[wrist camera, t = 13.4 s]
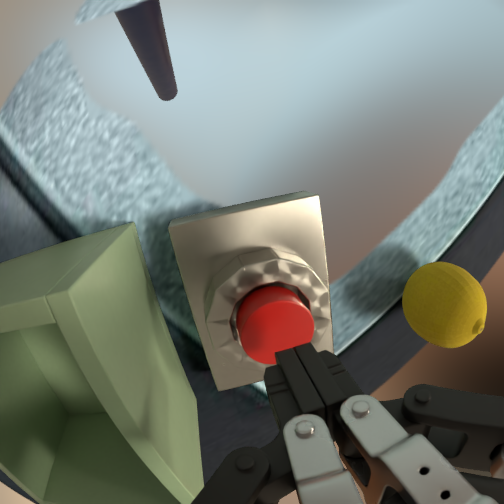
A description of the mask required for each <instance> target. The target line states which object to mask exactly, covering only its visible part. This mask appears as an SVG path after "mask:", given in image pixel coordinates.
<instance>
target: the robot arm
mask: <svg viewBox="0 0 504 504" xmlns="http://www.w3.org/2000/svg"><path fill="white" fill-rule="evenodd" d="M275 360H276V365H274V366H270V367H266V369H265V373H264V377H263V378H264V382H265V386H266V391H267V395H268V399H269V403H270V406H271V409H272V411H273V414H274V417H275V420H276V423H277V426H278V429H279V434H278V435H277V437H276V438H275V439H274V440H273V441H272V442H271V443H269V444H268V445H266V446H264V447H262V448H261V449H258V448H255V447H242V448H239V449H236V450H234V451H232V452H231V453H230V454H228V456H227V457H226V458H225V459H224V461H223V462H222V464H221V465H220V466H219V468H218V469H217V470H216V472H215V473H214V474H213V476H212V477H211V478H210V480H209V481H208V482H207V483H206V485H205V486H204V487H203V489H202V490H201V491H200V492H199V494H198V495H197V496H196V498H195V499H194V500H193V501H192V502H191V504H278V502H279V500H280V499H281V498H283V497H284V496H286V495H288V494H289V493H291V492H292V491H294V490H296V492H297V495H298V499H299V503H300V504H363V502H362V499H361V497H360V494H359V492H358V489H357V487H356V485H355V482H354V480H355V481H356V483H357V484H358V485H359V487H360V488H361V490H362V492H363V494H364V499H365V502H366V504H504V397H500V396H492V395H485V394H478V393H472V392H466V391H460V390H453V389H448V388H443V387H437V386H432V385H426V384H420V385H415V386H413V387H411V388H409V389H408V390H407V391H406V393H405V394H404V398H400V399H395V400H390V401H378V400H377V399H375V398H374V397H372V396H369V395H365V394H364V393H363V392H362V390H361V389H360V388H359V386H358V385H357V384H356V382H355V381H354V380H353V378H352V377H351V375H350V374H349V373H348V371H346V369H345V367H344V366H343V365H342V364H341V362H340V360H339V359H338V358H337V356H336V355H335V354H333V353H331V352H329V351H327V350H323V351H320V352H317V351H316V349H315V348H314V346H313V345H312V343H311V342H308V343H305V344H302V345H298V346H295V347H293V348H289V349H285V350H282V351H278V352H275ZM334 441H336V443H337V445H338V447H339V455H338V452H337V450H336V447H335V445H334ZM339 456H340V457H339ZM340 458H341V460H342V461H343V463H344V464H345V466H346V467H347V469H345V468H344V467H343V464H342V462H341V460H340ZM453 466H455V467H461V468H467V469H474V470H480V471H488V472H490V473H491V477H486V476H480V475H475V474H469V473H464V472H458V471H457V470H456V469H455V468H454V467H453ZM353 478H354V480H353Z"/></svg>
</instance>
